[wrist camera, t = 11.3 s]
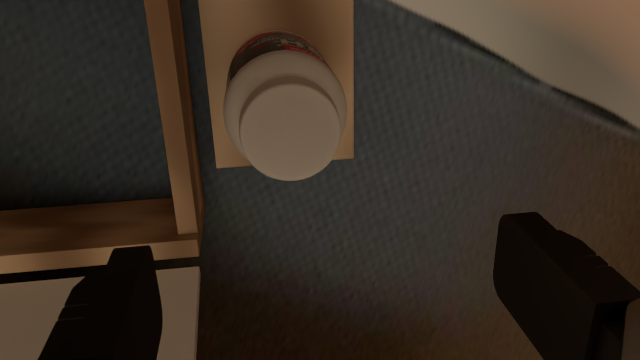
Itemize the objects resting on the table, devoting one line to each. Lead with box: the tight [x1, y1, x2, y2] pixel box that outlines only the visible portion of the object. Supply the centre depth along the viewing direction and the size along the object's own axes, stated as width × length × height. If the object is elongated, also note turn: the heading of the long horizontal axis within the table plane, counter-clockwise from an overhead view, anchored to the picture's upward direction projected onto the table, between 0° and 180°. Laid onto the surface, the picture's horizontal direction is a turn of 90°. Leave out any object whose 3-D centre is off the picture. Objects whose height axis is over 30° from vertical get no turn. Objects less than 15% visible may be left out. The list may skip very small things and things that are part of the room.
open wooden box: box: [0, 0, 206, 274], centre depth 27 cm, size 14×14×5 cm
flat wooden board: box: [198, 0, 354, 168], centre depth 30 cm, size 8×10×1 cm
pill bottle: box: [223, 30, 347, 181], centre depth 25 cm, size 5×5×10 cm
